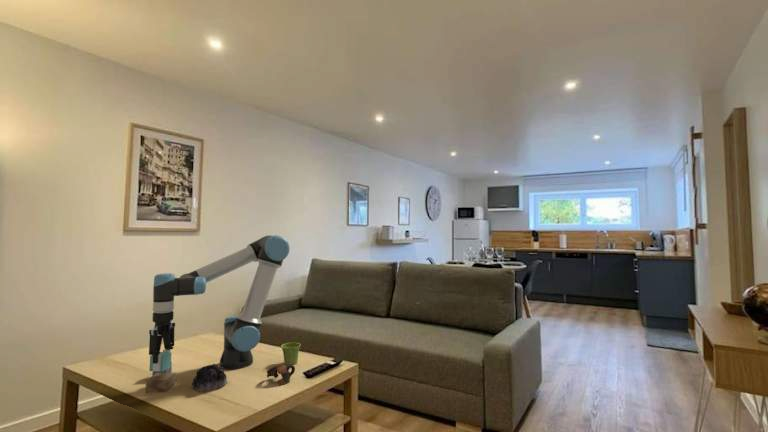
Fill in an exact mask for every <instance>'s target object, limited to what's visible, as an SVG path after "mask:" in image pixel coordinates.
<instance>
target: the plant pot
mask: <svg viewBox="0 0 768 432" xmlns="http://www.w3.org/2000/svg"><path fill="white" fill-rule="evenodd" d="M301 345H302V344H301V343H299V342H287V343H283V344H282V345H281V346H280V347H281V348H282V349H281V350H282V355H283V362H284V365H286V366H288V365H295V364H297V363H298V360H299V359H298V358H299V353H300V347H301Z"/></svg>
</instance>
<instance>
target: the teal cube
mask: <svg viewBox="0 0 768 432" xmlns="http://www.w3.org/2000/svg"><path fill="white" fill-rule="evenodd" d="M159 354H161V364H160V371H157V372H163V371H165V370H166V369H168V368H170V367H171V362H172V354H173V353H172V352H171V351H170V352H163V351H160V353H159ZM148 369H149V371H148V372H153V355H149V368H148Z"/></svg>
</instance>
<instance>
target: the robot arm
mask: <svg viewBox="0 0 768 432" xmlns="http://www.w3.org/2000/svg"><path fill="white" fill-rule="evenodd" d="M290 247H291V246H290V243H289V242H288V240H287V239H286V238H285V237H283V236H280V235H277V234H275V235H265V236H262V237H261V238H259V239H257V240H255V241H253V242H251V243H249V244H247V246H246V247H245V248H242V249H240V250H238V251H236V252H234V253H231V254H229V255H227V256H225V257H222V258H220V259H218V260H215V261H213V262H211V263H208V264H207V265H204V266H202V267H200V268H197V269H195V270H193V271H191V272H188V273H184V274H182V275H181V276H179V277H176V275H175V274H174V273H168V272H167V273H166V272H165V273H157V274H155V276H154V279H153V288H152V289H153V291H152V292H153V293H152V294H153V295H152V296H153V297H152V298H153V299H152V300H153V302H152V306H153V307H152V311H153V312H152V320H151V321H152V322H153V323H154V327H153V329H149V330H148V333H149V342H148V343H149V345H148V355H149V356H151V355H153V371H160V364H161V354H159V353H160V352H161V347H162V343H163V347H164V349H163V350H162V352H171V350H173V349H174V347H175V328H176V323H175V322H173V321H174V314H175V313H174V312H175V311H173V310H174V309H175V297H178V296H198V295H203V294H205V292H206V288H207V283H210V282H211V281H214V280H216V279H218V278H220V277H223V276H224V275H226V274H227V275H228V274H229V273H230V272H233V271H235V270H237V269H239V268H243V267H244V266H245V265H248V264H251V263H252V262H255V263H257V262H258V266H257V268H256V271H255V275H254V278H253V279H252V283H251V286H250V289H249V291H248V294H247V297H246V300H245V302H244V303H245V304H244V306H243V309H242V310H241V311H242V312H241V313H240V314H239V315H234V316H233V315H232V316H227V317H225V318H224V322H223V351H222V354H221V357H220V358H219V368H220V369H224V370H238V369H242V368H245V367H249V366H251V365H252V364H254V363H253V362H254V357H253V354H252V350H253V349H255V348H256V347H257V346H258V344H259V343H260V339H261V333H260V330H261V327H262V324H263V322H262V320H261V316H262V314H263V311H264V308H265V305H266V302H267V300H268V299H267V298H268V296H269V293H270V290H271V288H272V284H273V281H274V278H275V276H276V273H277V270H278V269H279V268H282V265H283V261H284V260H285V259H286V258H288V255H289V253H290V250H291V249H290ZM153 371H152V372H153Z"/></svg>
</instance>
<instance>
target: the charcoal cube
mask: <svg viewBox="0 0 768 432" xmlns="http://www.w3.org/2000/svg"><path fill="white" fill-rule="evenodd" d="M172 366H173V365H172V361H171V367H170V368H168V369H166V370H165V371H163V372H157V371H152V376H153V375H155V374H156V373H172ZM152 376H151V377H152Z"/></svg>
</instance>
